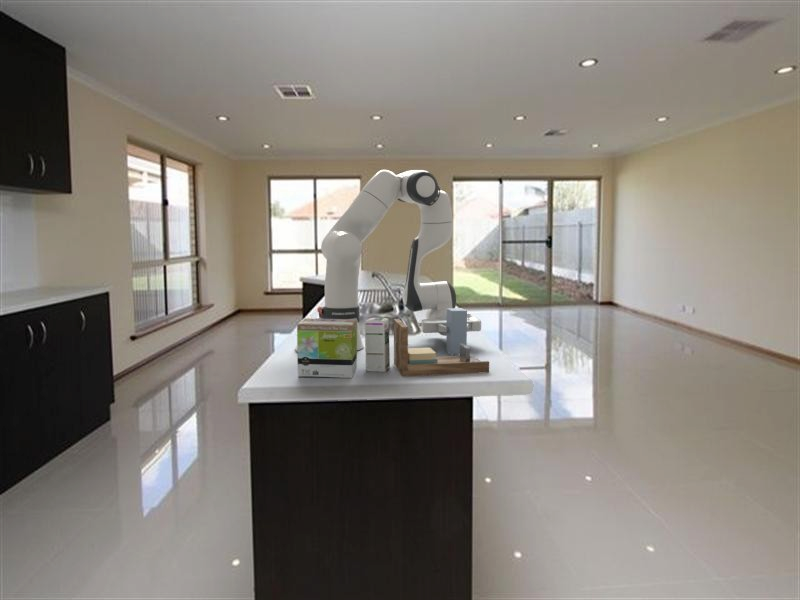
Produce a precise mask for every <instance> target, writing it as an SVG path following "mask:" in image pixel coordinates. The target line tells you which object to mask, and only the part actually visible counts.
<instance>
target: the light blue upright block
mask: <svg viewBox="0 0 800 600" xmlns="http://www.w3.org/2000/svg"><path fill="white" fill-rule="evenodd" d="M467 313H468V310H467V309H464V308H462V307H455V308H447V326H448V327H449V332H447V336H446V345H445V347H446V349H445V350H447V351H446V352H447V353H449V354H450V355H451V354H455V355H460V344H465V345H466V346H468V345H467V343H468V341H467V340H468V339H467V336H468V334H467V333H468V332H467Z"/></svg>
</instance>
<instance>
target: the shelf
mask: <svg viewBox="0 0 800 600" xmlns="http://www.w3.org/2000/svg"><path fill="white" fill-rule="evenodd" d="M408 329H409V326H407V325H406V324H405V323H404V322H403V321H402V320H401V319H400V318H393V366H395V368H396V369H397V370H398V372H399V374H400V375H401V377H419V376H420V377H421V376H439V375H459V374H460V375H462V374H463V375H464V374H479V372H486V373H490V361H489V360H480V361H475V362H461V361H460V355H457V356H438V357H437V356H436V358H437V359H438V360H437V363H430V364H408V348H409V346H408V345H409V330H408ZM474 358H477V357H476V356H475V355H470V359H474Z"/></svg>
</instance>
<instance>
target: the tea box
mask: <svg viewBox="0 0 800 600" xmlns="http://www.w3.org/2000/svg"><path fill="white" fill-rule="evenodd" d="M296 325H297V326H296V329H297V330H296V332H297V333H296V335H297V336H296V337H297V338H296V340H297V341H296V345H297V351H296V355H297V358H296V359H297V361H296V362H297V377H298V378H301V377H316V378H317V377H322V378H337V379H338V378H340V379H341V378H342V379H352V378H353V376H354V374H355V373H356V370H357V367H358V365H357V363H358V362H357V361H358V360H357V359H358V350H357V320H352V319H319V318H310V317H309V318H306V317H305V319H303V320H302V321H300V322H299V323H298V324H296Z"/></svg>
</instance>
